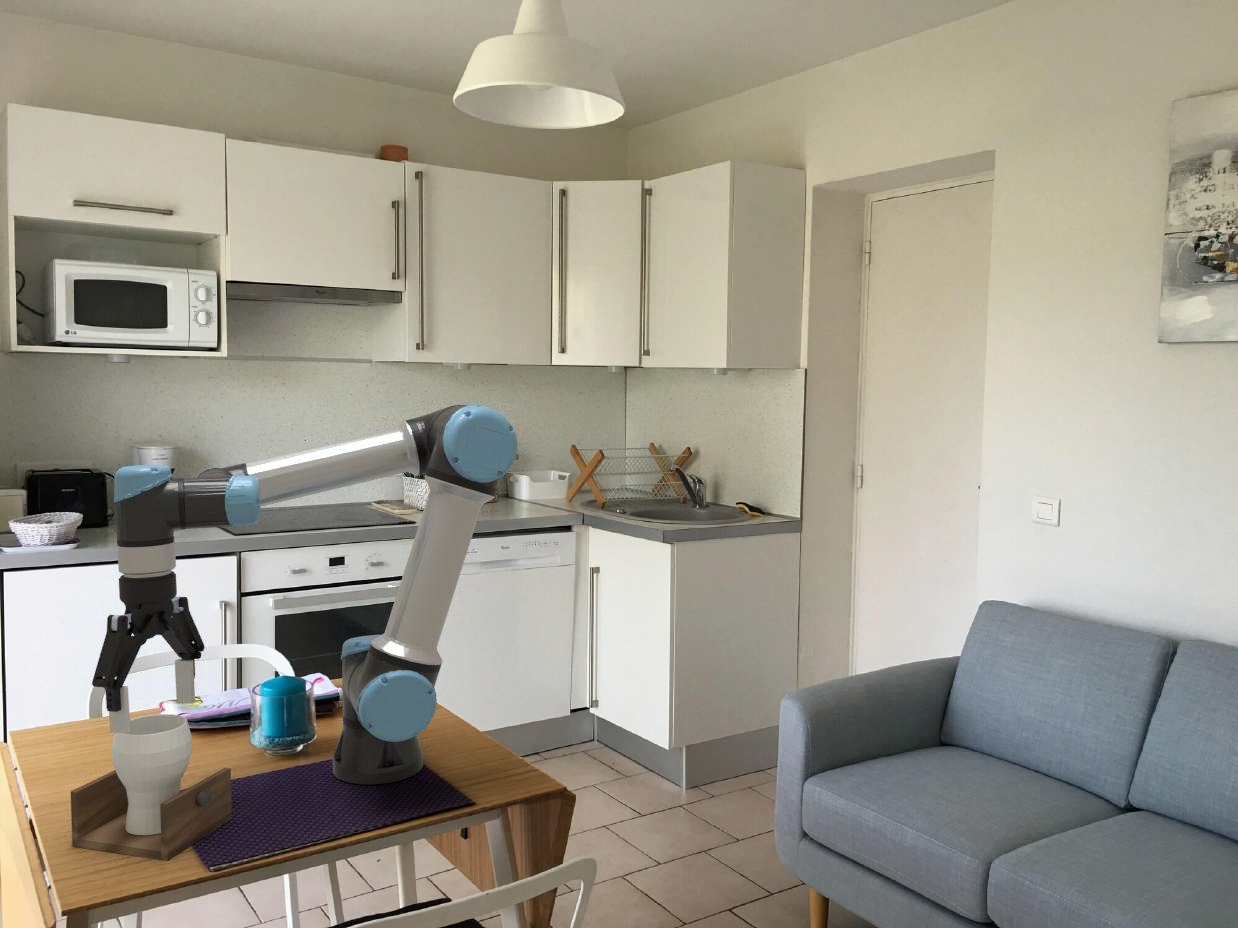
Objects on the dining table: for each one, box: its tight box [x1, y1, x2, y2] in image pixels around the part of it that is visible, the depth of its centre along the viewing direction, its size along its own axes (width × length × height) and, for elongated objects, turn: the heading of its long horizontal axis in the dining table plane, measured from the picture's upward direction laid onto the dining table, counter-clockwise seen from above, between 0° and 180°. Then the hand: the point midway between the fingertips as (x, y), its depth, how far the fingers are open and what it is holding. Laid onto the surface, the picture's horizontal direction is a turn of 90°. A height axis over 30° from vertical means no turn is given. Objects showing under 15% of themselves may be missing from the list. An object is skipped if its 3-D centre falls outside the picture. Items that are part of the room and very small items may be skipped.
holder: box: [70, 767, 233, 862], centre depth 149 cm, size 18×14×8 cm
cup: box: [111, 713, 193, 835], centre depth 149 cm, size 11×11×15 cm
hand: (154, 716), depth 148 cm, fingers open, 13 cm apart
